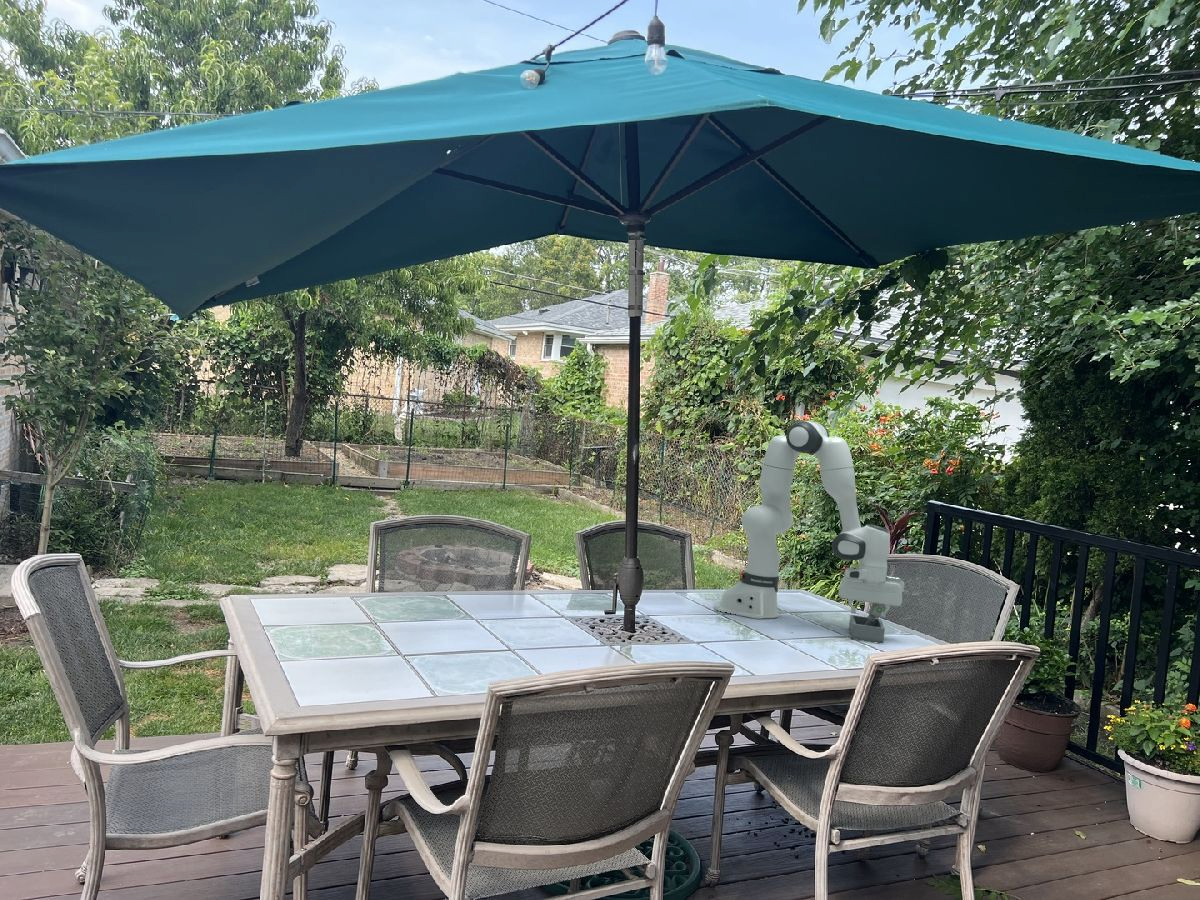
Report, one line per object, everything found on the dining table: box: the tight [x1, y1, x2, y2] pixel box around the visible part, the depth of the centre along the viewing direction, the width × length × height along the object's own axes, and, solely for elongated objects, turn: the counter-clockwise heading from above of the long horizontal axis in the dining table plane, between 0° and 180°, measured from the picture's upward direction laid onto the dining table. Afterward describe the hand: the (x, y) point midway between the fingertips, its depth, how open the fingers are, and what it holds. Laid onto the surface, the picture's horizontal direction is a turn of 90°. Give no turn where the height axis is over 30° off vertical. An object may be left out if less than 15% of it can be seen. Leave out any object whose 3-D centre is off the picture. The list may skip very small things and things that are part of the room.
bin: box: [848, 614, 886, 644], centre depth 282 cm, size 10×15×5 cm, turn 166°
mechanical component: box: [865, 603, 884, 626], centre depth 283 cm, size 3×10×10 cm, turn 169°
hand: (867, 615), depth 282 cm, fingers open, 8 cm apart
